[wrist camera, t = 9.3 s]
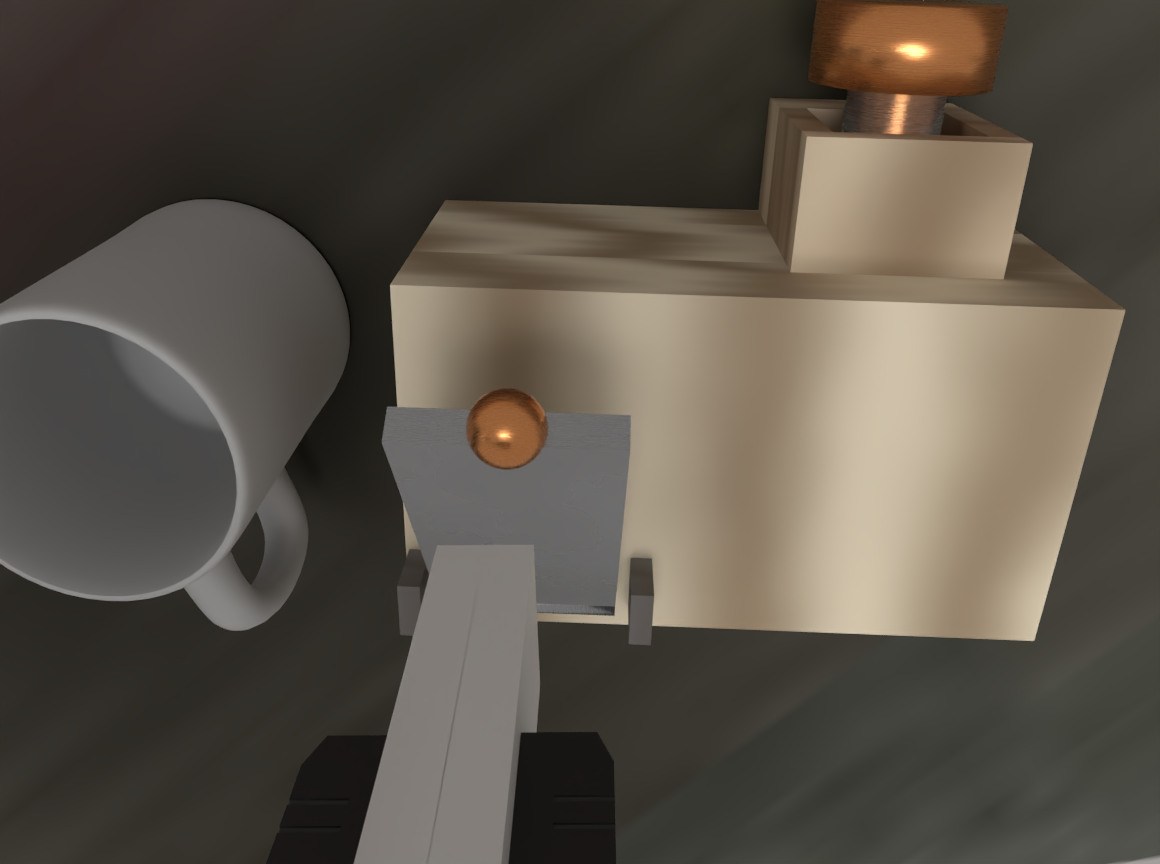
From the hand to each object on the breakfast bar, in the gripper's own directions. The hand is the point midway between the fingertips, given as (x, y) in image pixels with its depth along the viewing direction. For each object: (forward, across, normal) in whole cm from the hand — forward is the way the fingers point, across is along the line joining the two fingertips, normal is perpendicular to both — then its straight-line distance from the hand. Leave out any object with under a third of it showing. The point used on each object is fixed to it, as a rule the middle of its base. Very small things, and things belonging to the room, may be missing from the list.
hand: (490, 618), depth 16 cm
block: (+20, +6, -2) cm, 21 cm away
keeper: (+8, 0, -2) cm, 8 cm away
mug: (+20, -10, -4) cm, 23 cm away
